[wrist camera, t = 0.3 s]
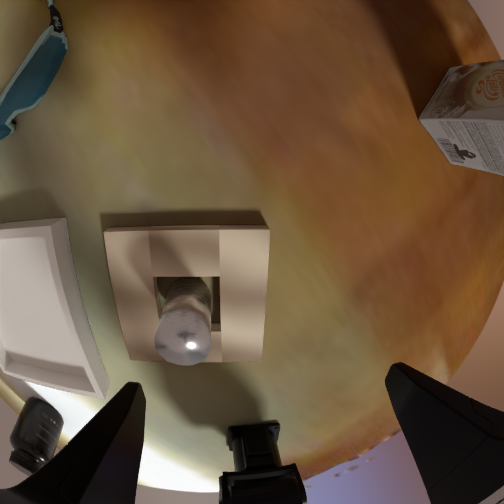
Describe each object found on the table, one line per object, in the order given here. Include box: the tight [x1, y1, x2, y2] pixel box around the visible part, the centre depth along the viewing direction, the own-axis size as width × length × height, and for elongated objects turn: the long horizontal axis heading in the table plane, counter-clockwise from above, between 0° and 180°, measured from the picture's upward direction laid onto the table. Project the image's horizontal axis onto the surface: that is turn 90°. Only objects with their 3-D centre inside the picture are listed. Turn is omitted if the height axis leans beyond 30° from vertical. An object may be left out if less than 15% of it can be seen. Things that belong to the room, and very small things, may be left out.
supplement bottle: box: [9, 398, 64, 476], centre depth 20 cm, size 7×7×12 cm
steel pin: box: [154, 278, 211, 366], centre depth 19 cm, size 4×4×6 cm
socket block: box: [104, 225, 270, 362], centre depth 21 cm, size 12×12×1 cm
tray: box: [0, 217, 110, 399], centre depth 19 cm, size 18×16×2 cm
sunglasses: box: [0, 0, 68, 140], centre depth 10 cm, size 14×15×5 cm
